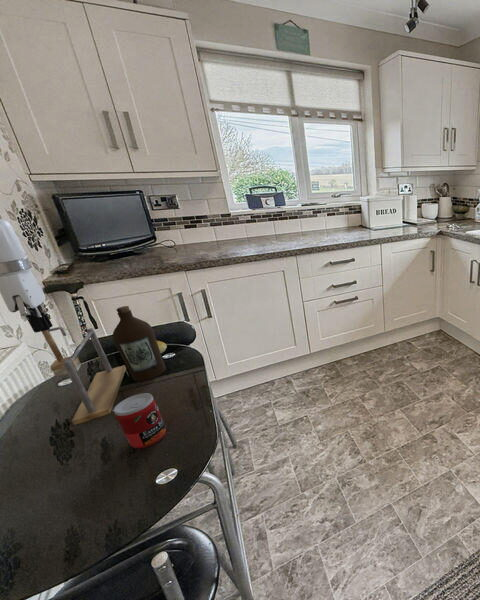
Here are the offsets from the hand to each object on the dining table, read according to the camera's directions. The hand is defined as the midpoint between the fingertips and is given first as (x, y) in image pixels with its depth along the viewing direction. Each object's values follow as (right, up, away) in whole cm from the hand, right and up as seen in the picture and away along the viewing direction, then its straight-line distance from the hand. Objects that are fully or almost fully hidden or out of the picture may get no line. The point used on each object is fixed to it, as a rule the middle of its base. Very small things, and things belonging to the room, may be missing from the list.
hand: (43, 329), depth 93 cm
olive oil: (+15, -18, +20) cm, 31 cm away
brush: (+1, -13, +5) cm, 14 cm away
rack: (+7, -22, +11) cm, 25 cm away
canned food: (+38, -27, -10) cm, 48 cm away
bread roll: (+5, -13, +36) cm, 38 cm away
